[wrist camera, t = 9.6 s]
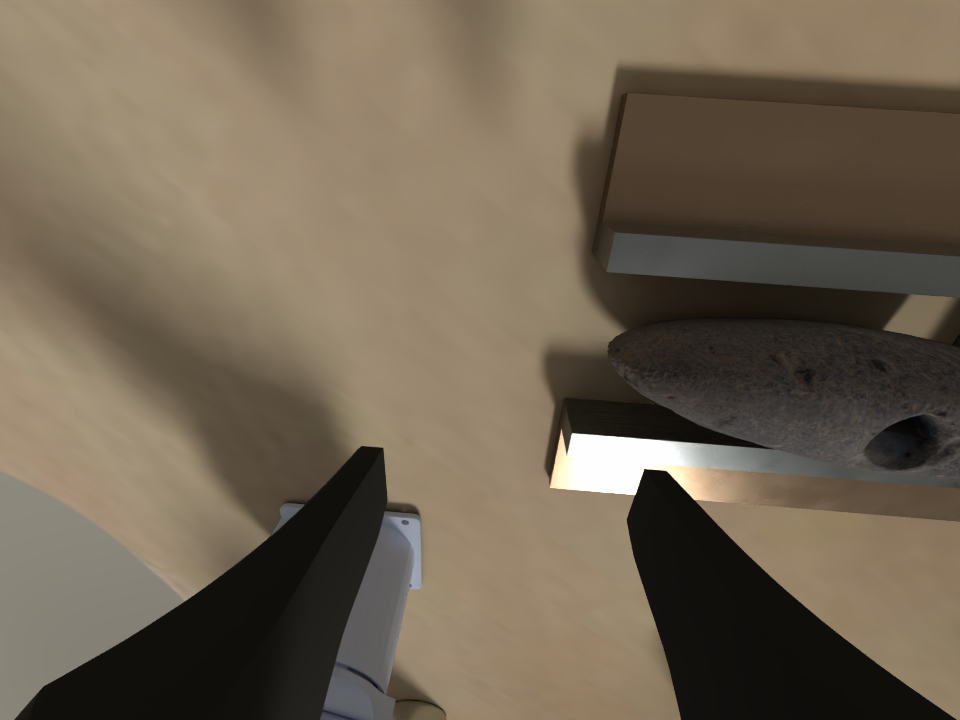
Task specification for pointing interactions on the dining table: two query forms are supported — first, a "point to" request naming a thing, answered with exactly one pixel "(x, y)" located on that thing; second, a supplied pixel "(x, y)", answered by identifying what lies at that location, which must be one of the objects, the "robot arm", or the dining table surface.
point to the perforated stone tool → (806, 388)
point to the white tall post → (417, 711)
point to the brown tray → (767, 271)
